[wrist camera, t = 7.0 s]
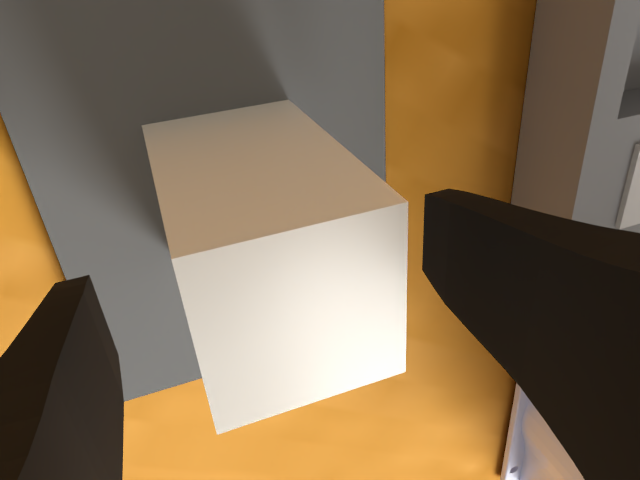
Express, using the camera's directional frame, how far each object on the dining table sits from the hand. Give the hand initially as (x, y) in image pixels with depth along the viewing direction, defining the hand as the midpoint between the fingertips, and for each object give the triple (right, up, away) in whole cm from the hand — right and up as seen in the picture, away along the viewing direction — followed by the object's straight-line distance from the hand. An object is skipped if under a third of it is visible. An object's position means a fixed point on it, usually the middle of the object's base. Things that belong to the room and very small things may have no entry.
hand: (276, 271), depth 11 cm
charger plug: (-2, +2, +4) cm, 5 cm away
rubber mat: (-2, +3, +4) cm, 6 cm away
